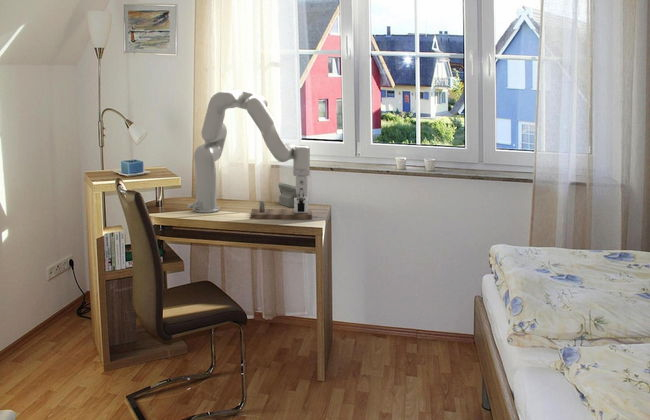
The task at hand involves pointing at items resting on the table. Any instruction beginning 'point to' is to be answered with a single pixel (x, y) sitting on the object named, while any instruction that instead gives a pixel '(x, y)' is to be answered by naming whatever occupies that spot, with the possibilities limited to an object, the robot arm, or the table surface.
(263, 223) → the table surface
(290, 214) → the board
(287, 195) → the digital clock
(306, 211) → the white cube
